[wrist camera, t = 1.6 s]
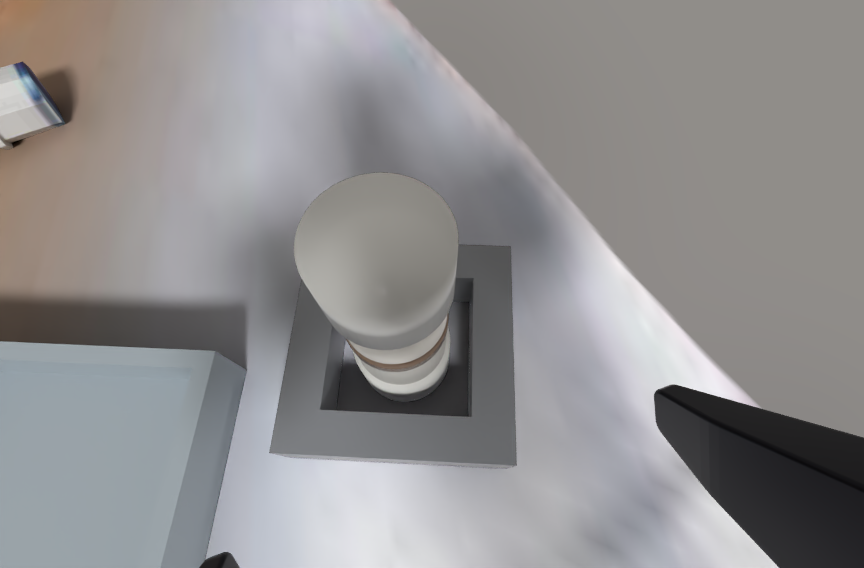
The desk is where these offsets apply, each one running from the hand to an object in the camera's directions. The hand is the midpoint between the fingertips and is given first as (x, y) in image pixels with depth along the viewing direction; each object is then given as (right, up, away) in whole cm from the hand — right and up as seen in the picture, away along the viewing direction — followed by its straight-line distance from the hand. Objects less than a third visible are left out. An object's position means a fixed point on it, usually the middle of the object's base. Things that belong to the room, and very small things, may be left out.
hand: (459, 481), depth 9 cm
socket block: (-2, 0, +14) cm, 14 cm away
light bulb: (-2, 0, +14) cm, 14 cm away
